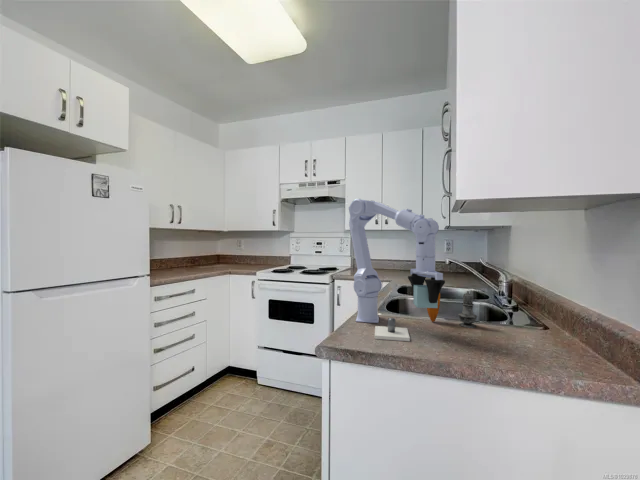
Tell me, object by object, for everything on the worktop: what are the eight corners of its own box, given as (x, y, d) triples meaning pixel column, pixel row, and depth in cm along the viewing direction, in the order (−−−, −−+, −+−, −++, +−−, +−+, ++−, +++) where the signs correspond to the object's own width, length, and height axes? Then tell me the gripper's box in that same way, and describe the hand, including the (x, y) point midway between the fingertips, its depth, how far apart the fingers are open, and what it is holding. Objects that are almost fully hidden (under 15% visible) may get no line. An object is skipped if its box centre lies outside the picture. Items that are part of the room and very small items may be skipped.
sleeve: (413, 303, 98) (413, 284, 98) (432, 303, 97) (432, 285, 97) (417, 307, 92) (417, 287, 92) (437, 308, 91) (437, 288, 91)
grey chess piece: (478, 328, 100) (479, 292, 100) (459, 327, 102) (459, 291, 102) (475, 324, 106) (476, 289, 106) (457, 322, 108) (457, 288, 108)
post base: (375, 328, 99) (375, 313, 99) (406, 331, 97) (407, 315, 97) (374, 338, 90) (374, 321, 90) (409, 341, 88) (409, 324, 88)
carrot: (422, 321, 108) (423, 279, 108) (429, 319, 112) (430, 278, 112) (436, 324, 105) (436, 281, 105) (442, 322, 108) (443, 280, 108)
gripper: (402, 255, 101) (402, 296, 101) (427, 258, 87) (427, 305, 87) (421, 255, 102) (420, 295, 102) (449, 258, 88) (449, 304, 88)
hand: (425, 300), depth 95 cm, fingers closed on sleeve, 7 cm apart
